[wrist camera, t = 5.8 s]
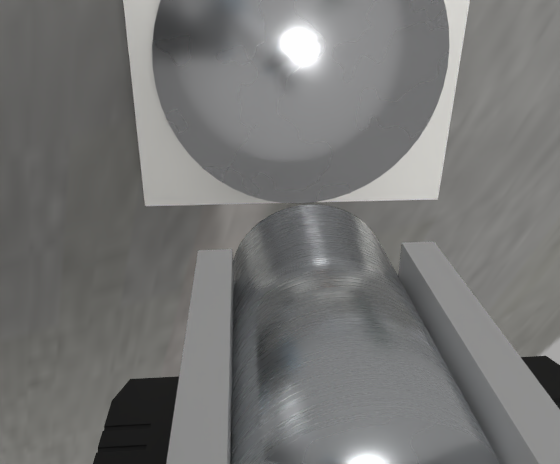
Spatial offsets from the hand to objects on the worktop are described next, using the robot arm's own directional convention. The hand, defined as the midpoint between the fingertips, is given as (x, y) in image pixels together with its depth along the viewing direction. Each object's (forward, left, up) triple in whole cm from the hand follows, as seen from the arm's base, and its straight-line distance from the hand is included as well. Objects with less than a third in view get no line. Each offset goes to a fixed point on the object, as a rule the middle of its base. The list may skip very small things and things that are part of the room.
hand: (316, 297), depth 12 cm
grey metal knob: (0, 0, -1) cm, 1 cm away
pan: (+1, +4, -11) cm, 11 cm away
